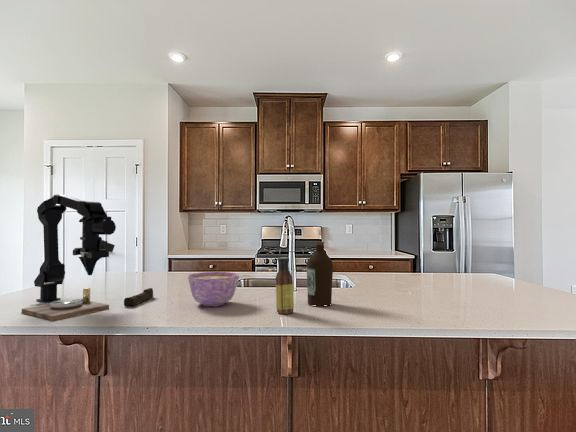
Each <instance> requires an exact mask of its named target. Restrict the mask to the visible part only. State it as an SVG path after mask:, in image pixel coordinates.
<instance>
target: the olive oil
mask: <svg viewBox="0 0 576 432" xmlns="http://www.w3.org/2000/svg"><path fill="white" fill-rule="evenodd" d="M324 244H325V243H324V241H316V242H315V250H314V251H315V252H314V253H313V254H311V256H310V257H309V258H308V259H307V261H306V262H307V263H306V268H305V269H306V285H307V286H306V289H307V304H310V305H316V306H324V305H330V304H331V305H332V300H333V299H332V296H333V295H332V293H333V273H334V264H333V261H332V258H330V256H329V255H328V254H327V252H325V245H324ZM310 305H309V306H310ZM331 305H330V306H331Z"/></svg>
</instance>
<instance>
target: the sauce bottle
mask: <svg viewBox="0 0 576 432" xmlns="http://www.w3.org/2000/svg"><path fill="white" fill-rule="evenodd" d="M277 263H278V272H277V273H276V275H275V302H276V303H275V305H276V306H275V307H276V312H278V314H279V313H280V314H281V315H291V314H293V313H294V282H293V276H292V274H291V271H290V258H289V257H278V258H277ZM290 313H291V314H290ZM280 314H279V315H280Z"/></svg>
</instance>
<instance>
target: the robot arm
mask: <svg viewBox="0 0 576 432" xmlns="http://www.w3.org/2000/svg"><path fill="white" fill-rule="evenodd" d="M67 208H69V209H73V210H75V211H76V212H77V214H79V215H80V216H82V217H81V218H80V219H79V220H78V222H79V223H81V224H82V225H81V227H82V230H81V231H82V232H81V233H82V234H81V236H80V237H79V240H81V247H75V248H74V249H73V250H72V255H73V256H78V259H79V260H80V261H81V264H82V266H83V269H84V270H85V272H86V274H87V276H92V275H93V273H94V270H95V267H96V264H97V262H98V261H99V260H101V259H102V258H110V253H113V251H114V249H115V246H116V245H115V244H114V243H110V242H108V241H107V240H104V239H103V238H102V236H103V235H105V236H106V235H107V236H110V235H112V234H114V233H115V231H116V228H117V226H116V223H115V221H113V219H112V216H108V214H107V213H106V211H105V209H104V207H103V205H102V203H101V202H100V201H87V200H86V201H85V200H82V199H79V198H77V197H72V196H69V195H68V194H60V193H58V194H54V195H52V196H51V198H48V199H46V200H44V201H43V202H41V203H40V204H39V205H38V207H37V208H36V214H37V218H38V221H39V222H40V223H41V224H42V227H43V251H44V252H43V253H44V254H43V256H44V260H43V262H42V263H41V265H40V267H39V273H38V274H37V276H36V277H35V279H34V281H33V283H34V287H37V288H38V287H39V289H40V291H39V293H40V295H39V296H40V297H39V298H38V299H37V298H36V302H41V303H49V302H54V301H58V300H62V298H61V297H58V285H63V283H64V279H65V275H66V270H65V269H66V267H65V266H66V265H65V263H62V262H61V260H60V257H59V253H60V252H59V228H58V227H59V223H60V222H61V220H62V218H63V214H64V213H65V212H66V211H67ZM100 235H102V236H100Z"/></svg>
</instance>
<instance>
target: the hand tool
mask: <svg viewBox="0 0 576 432" xmlns="http://www.w3.org/2000/svg"><path fill="white" fill-rule="evenodd" d="M153 297H154V290H153V288H152V287H150V288H149V287H148V288H146V289H143V291H142V292H141V293H138V294H134V295H132V296H129V297H125V298H124V299H123V306H124V307H125V308H133V307H135V306H136V305H137V304H139V303H142V302H144V301H150V300H152V299H153Z"/></svg>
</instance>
